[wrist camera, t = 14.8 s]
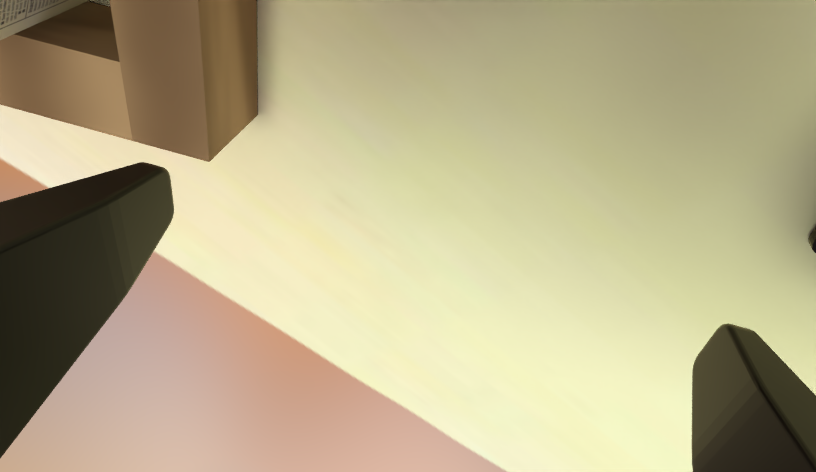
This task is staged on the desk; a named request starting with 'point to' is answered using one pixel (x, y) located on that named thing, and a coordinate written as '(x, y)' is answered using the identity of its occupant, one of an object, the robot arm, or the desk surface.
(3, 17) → the skincare box
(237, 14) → the frame
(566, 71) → the desk surface
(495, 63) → the desk surface
